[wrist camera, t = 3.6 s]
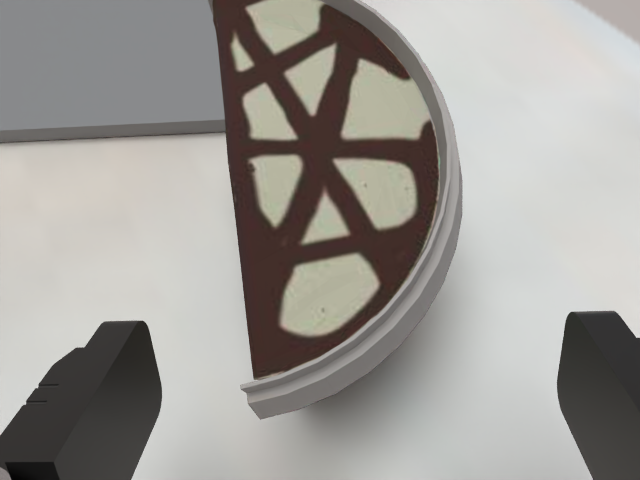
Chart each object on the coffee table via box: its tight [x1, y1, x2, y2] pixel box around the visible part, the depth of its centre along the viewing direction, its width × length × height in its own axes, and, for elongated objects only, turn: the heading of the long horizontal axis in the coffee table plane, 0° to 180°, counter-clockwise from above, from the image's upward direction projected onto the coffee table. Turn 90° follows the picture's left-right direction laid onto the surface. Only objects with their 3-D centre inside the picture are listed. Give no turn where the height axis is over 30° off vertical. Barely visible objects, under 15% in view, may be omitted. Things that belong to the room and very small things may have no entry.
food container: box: [208, 0, 462, 419], centre depth 18 cm, size 12×6×10 cm, turn 8°
